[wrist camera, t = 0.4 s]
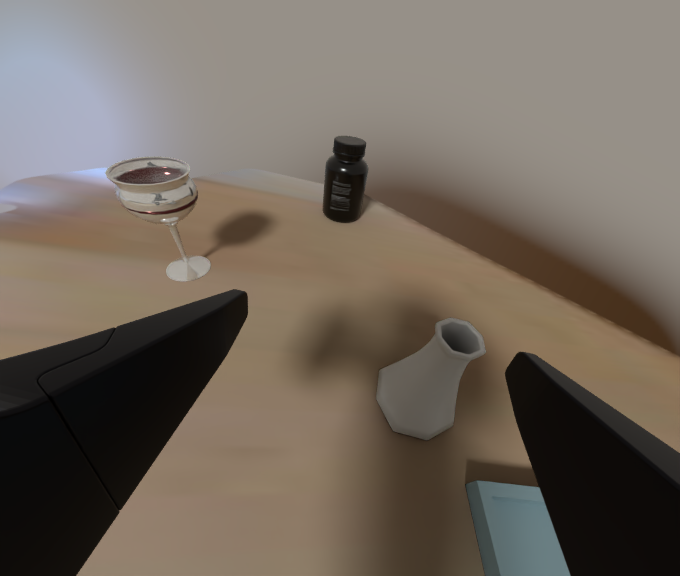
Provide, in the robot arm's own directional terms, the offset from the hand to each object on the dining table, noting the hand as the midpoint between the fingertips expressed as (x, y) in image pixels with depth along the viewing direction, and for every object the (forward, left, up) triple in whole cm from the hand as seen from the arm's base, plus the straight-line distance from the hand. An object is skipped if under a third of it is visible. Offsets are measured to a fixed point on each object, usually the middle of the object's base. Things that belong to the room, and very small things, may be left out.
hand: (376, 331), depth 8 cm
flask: (+5, -7, -16) cm, 19 cm away
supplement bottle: (+37, +2, -16) cm, 41 cm away
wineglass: (+18, +20, -16) cm, 31 cm away
